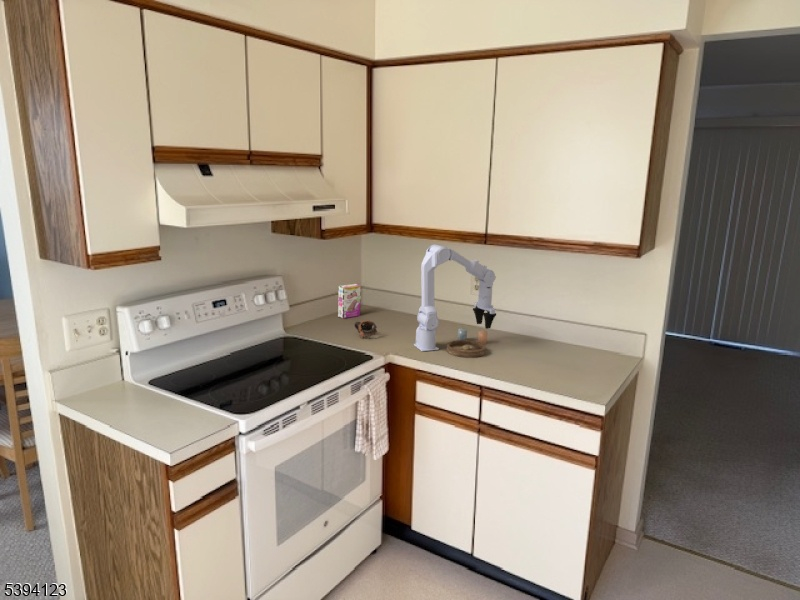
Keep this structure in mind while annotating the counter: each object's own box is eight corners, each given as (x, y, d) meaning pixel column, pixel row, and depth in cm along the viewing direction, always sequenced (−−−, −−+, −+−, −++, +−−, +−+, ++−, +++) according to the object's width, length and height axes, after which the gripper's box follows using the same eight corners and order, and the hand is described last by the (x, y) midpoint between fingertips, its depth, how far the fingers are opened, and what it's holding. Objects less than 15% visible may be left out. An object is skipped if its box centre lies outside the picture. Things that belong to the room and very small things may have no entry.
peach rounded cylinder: (476, 341, 243) (476, 331, 242) (484, 341, 245) (484, 330, 244) (480, 344, 240) (481, 333, 239) (488, 343, 241) (489, 332, 240)
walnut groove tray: (440, 347, 234) (440, 341, 233) (473, 344, 240) (473, 338, 239) (457, 359, 219) (457, 353, 219) (492, 355, 225) (492, 349, 224)
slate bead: (456, 339, 246) (456, 328, 245) (464, 338, 248) (464, 328, 247) (460, 341, 243) (460, 331, 242) (468, 341, 244) (468, 330, 243)
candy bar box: (343, 319, 276) (343, 287, 272) (337, 317, 279) (337, 285, 276) (361, 316, 283) (361, 285, 279) (355, 314, 286) (355, 283, 283)
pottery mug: (381, 335, 252) (381, 323, 246) (370, 348, 246) (369, 336, 240) (359, 325, 256) (359, 313, 250) (348, 338, 250) (347, 325, 244)
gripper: (501, 299, 232) (500, 329, 235) (484, 292, 245) (483, 321, 249) (487, 300, 230) (485, 331, 233) (471, 293, 243) (469, 322, 246)
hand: (483, 326), depth 241 cm, fingers open, 7 cm apart
